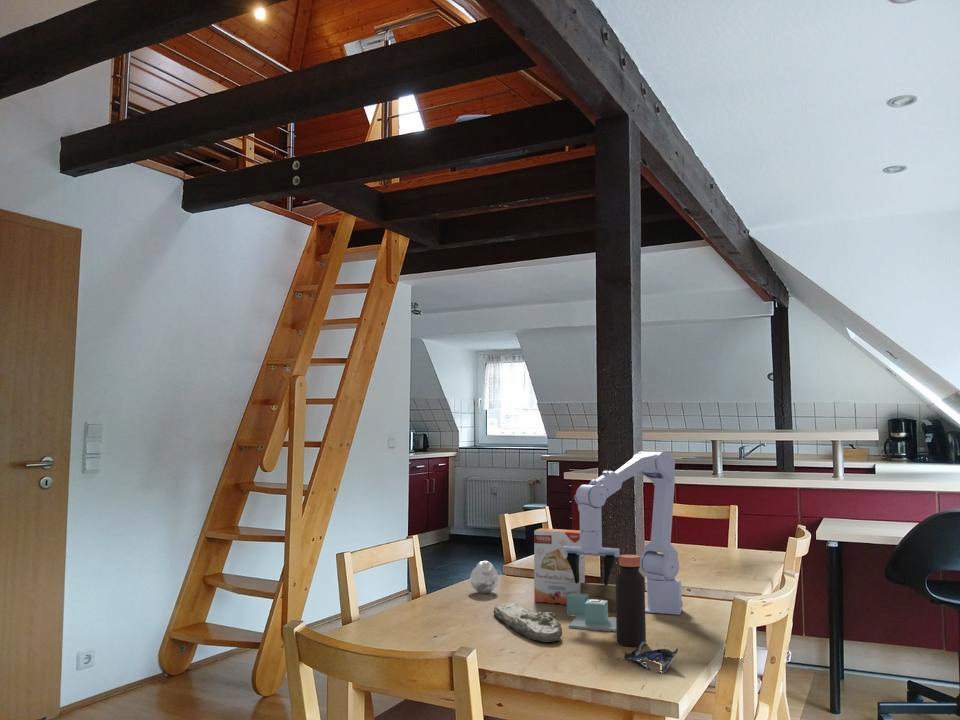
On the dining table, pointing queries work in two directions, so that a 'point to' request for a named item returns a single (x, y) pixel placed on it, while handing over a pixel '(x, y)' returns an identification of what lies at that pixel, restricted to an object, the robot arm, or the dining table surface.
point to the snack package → (652, 656)
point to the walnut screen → (600, 593)
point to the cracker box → (555, 565)
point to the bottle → (630, 602)
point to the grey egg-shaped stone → (484, 577)
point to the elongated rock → (529, 622)
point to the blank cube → (576, 604)
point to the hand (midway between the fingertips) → (591, 583)
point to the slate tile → (580, 624)
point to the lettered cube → (596, 611)
